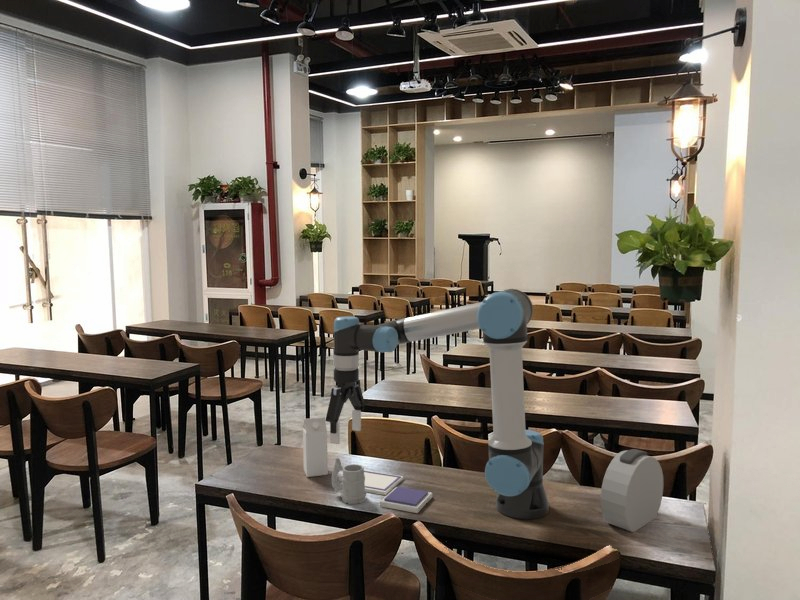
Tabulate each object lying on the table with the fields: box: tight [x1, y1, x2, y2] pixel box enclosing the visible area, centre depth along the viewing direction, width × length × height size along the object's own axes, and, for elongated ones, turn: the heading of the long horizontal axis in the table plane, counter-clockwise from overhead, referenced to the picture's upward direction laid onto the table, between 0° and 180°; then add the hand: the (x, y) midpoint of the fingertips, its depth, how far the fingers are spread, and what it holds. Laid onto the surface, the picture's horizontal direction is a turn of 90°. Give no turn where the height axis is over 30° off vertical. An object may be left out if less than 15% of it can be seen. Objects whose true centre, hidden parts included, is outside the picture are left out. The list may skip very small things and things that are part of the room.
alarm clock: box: [600, 448, 664, 533], centre depth 170 cm, size 21×8×20 cm, turn 131°
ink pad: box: [379, 486, 433, 514], centre depth 184 cm, size 12×12×2 cm
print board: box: [341, 469, 404, 496], centre depth 199 cm, size 16×14×1 cm
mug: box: [331, 457, 367, 505], centre depth 187 cm, size 8×12×12 cm, turn 61°
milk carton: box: [302, 416, 329, 478], centre depth 208 cm, size 7×7×19 cm
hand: (346, 436), depth 186 cm, fingers open, 13 cm apart
